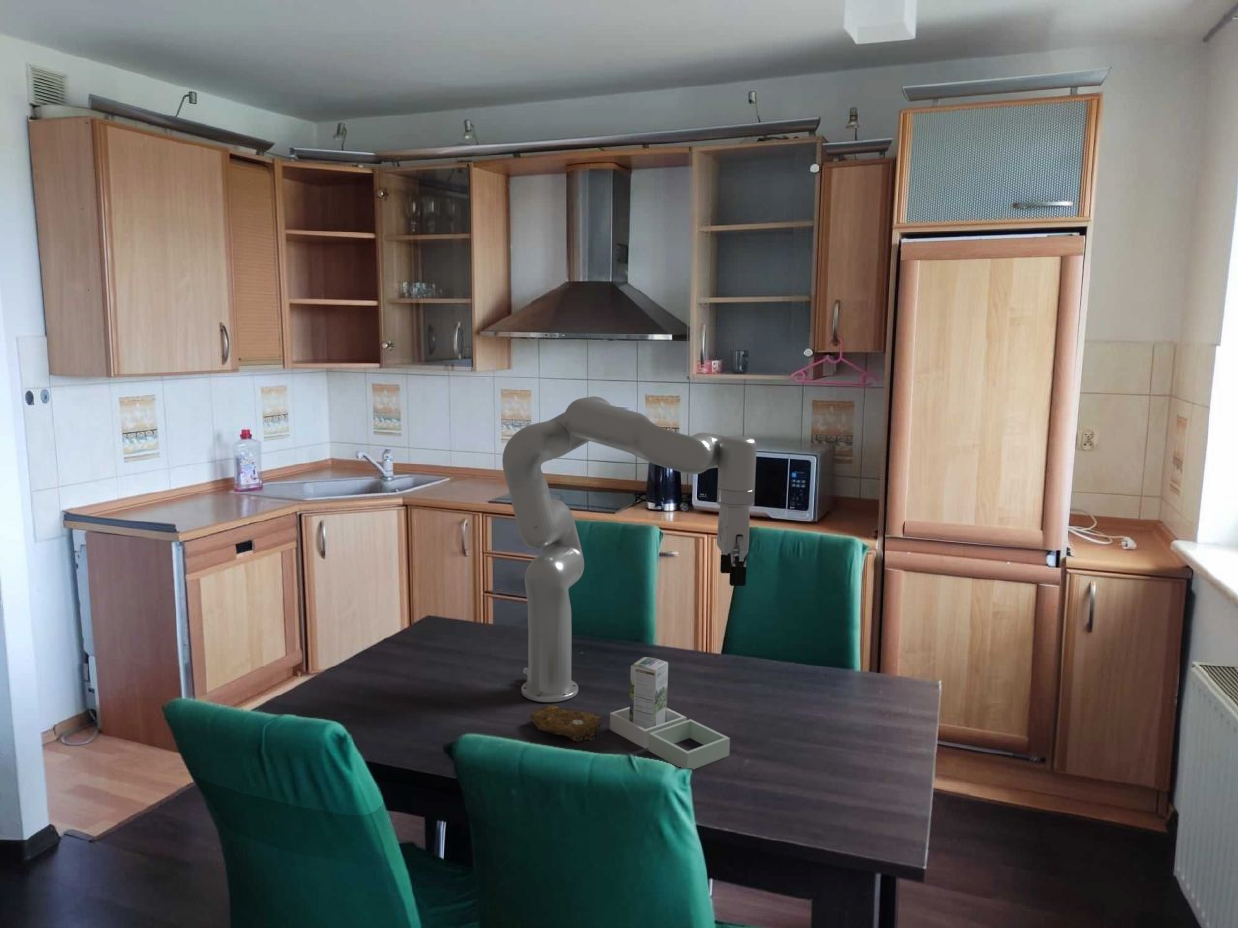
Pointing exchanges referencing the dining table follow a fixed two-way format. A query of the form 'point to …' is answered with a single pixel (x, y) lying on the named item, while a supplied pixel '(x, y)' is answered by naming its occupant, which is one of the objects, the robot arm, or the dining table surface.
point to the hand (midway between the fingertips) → (732, 579)
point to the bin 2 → (710, 752)
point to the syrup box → (648, 692)
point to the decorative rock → (567, 722)
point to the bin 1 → (635, 732)
